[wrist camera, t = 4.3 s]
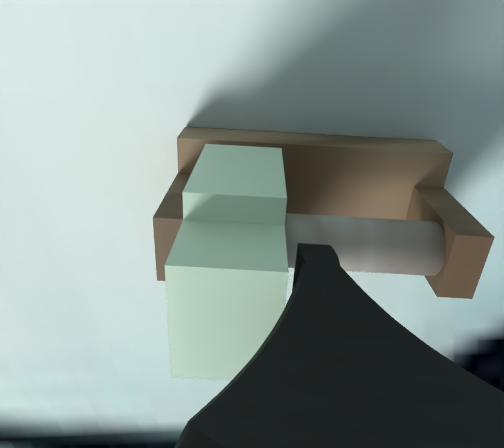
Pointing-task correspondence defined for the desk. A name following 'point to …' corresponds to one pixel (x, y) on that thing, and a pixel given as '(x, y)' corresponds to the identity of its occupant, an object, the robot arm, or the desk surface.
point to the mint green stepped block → (227, 261)
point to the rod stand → (355, 204)
